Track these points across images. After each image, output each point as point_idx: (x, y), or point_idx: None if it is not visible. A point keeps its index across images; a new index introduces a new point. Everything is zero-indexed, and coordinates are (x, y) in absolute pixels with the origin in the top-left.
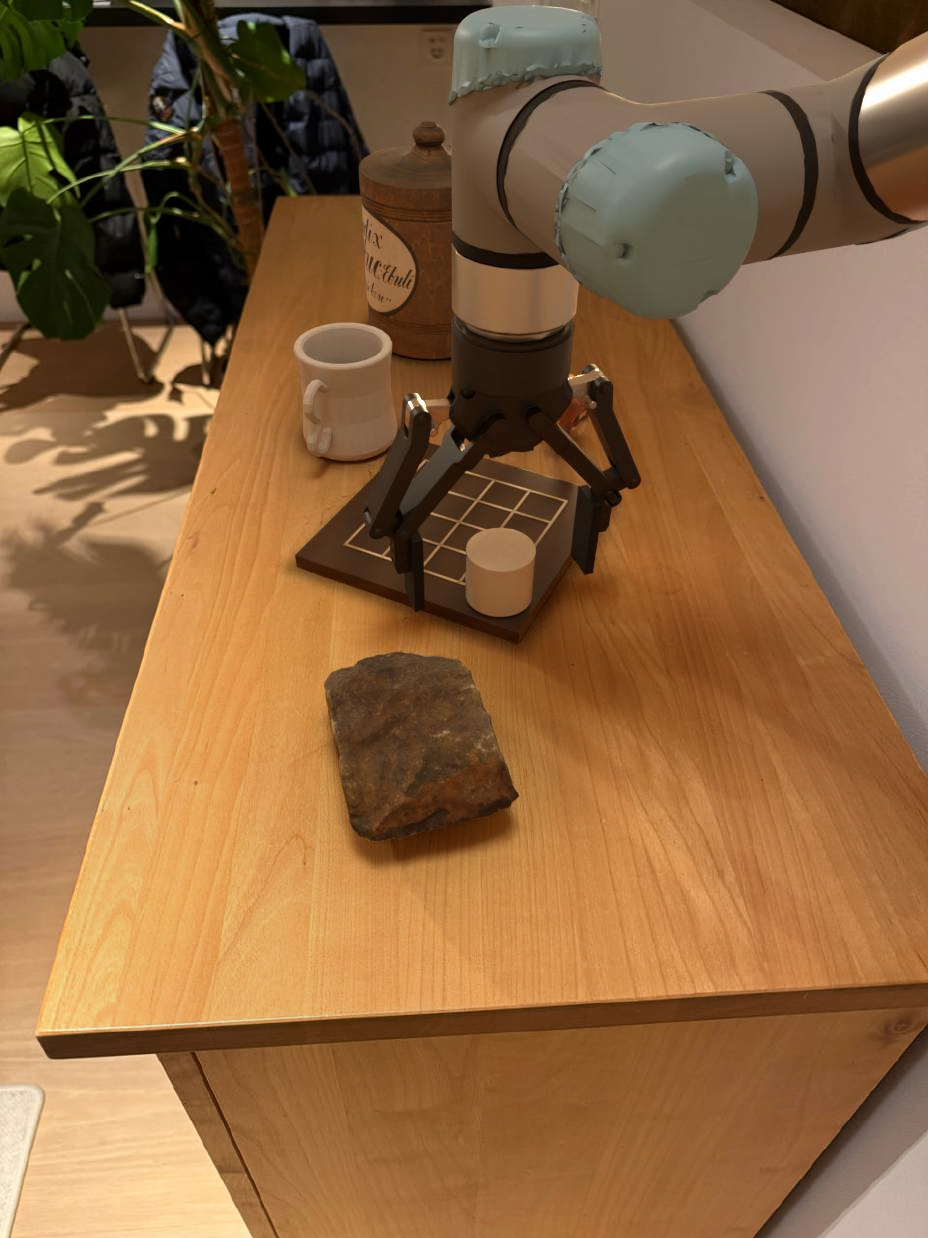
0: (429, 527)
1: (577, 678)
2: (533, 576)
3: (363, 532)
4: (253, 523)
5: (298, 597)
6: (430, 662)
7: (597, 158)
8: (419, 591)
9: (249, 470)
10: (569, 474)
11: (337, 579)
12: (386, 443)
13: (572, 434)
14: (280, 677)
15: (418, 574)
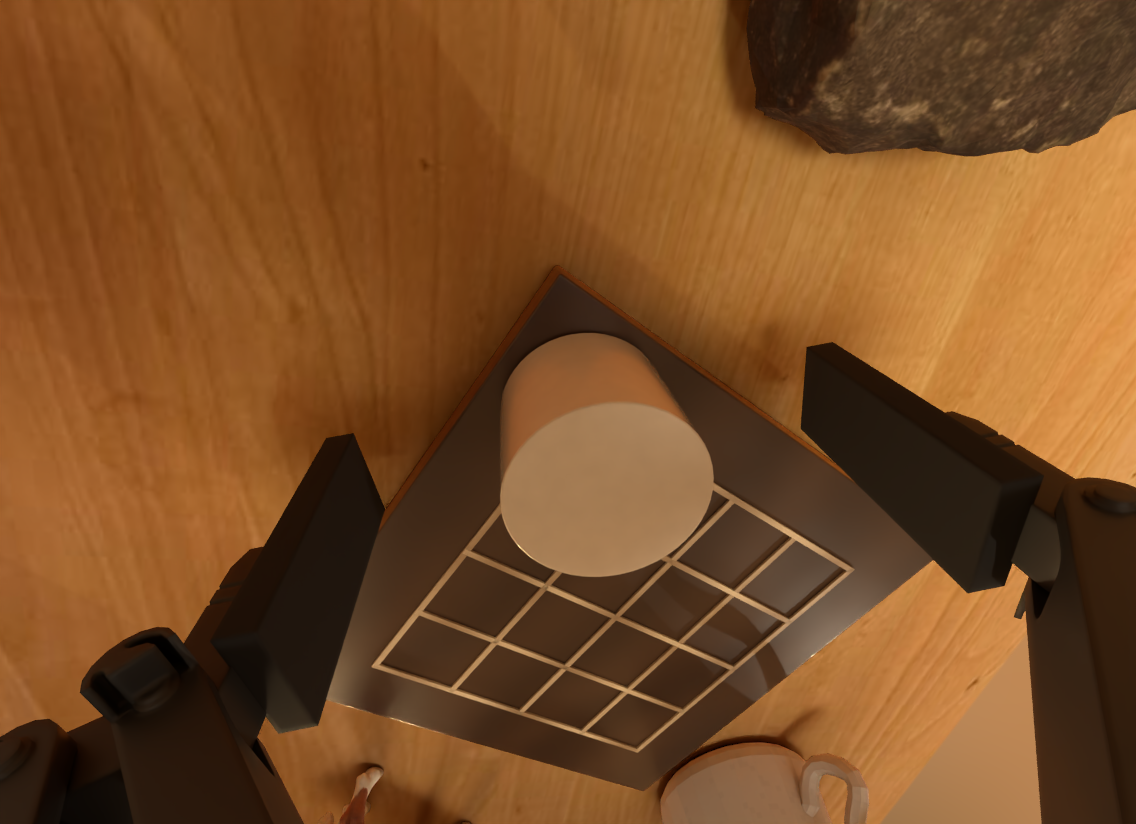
0: (677, 605)
1: (417, 103)
2: (506, 422)
3: (805, 597)
4: (948, 623)
5: None
6: (969, 20)
7: None
8: (861, 371)
9: (903, 721)
10: (361, 724)
11: None
12: (692, 779)
13: (341, 818)
14: (1094, 232)
15: (907, 400)
